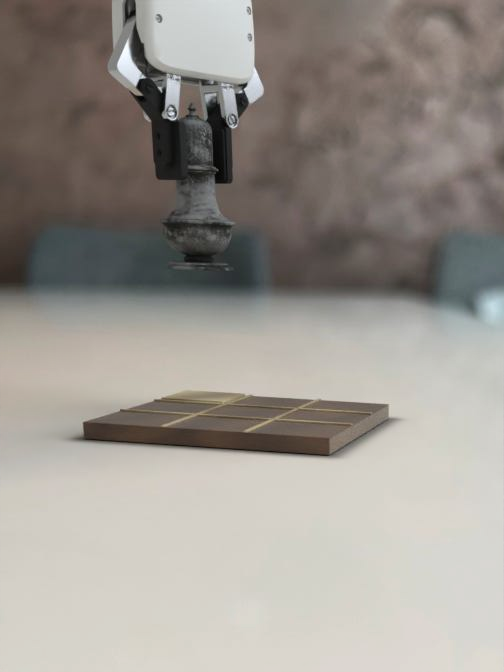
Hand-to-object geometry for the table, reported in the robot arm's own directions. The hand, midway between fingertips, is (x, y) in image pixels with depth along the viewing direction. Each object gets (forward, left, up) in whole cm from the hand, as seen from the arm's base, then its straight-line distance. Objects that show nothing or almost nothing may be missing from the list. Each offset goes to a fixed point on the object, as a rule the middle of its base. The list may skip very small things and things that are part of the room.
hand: (194, 179), depth 86 cm
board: (+6, -6, -18) cm, 20 cm away
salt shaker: (0, 0, -7) cm, 7 cm away
